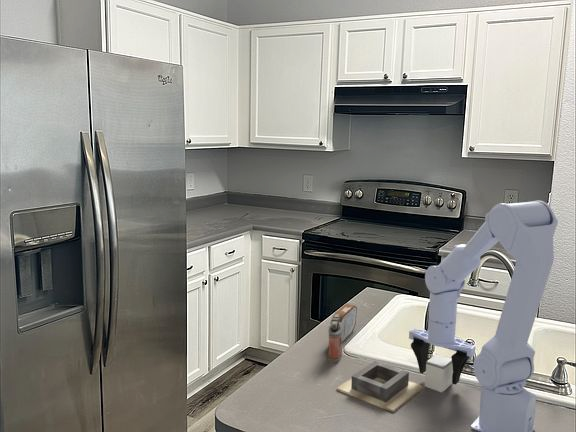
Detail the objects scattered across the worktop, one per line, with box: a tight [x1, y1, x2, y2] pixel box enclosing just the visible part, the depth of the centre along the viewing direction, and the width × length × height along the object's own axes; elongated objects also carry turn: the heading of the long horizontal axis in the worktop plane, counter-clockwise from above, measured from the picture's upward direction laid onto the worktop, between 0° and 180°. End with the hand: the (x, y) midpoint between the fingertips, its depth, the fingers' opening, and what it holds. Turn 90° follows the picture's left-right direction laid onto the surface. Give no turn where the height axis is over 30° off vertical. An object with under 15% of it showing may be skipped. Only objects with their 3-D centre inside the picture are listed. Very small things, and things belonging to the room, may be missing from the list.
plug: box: [424, 353, 453, 393], centre depth 119 cm, size 4×5×6 cm
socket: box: [336, 360, 424, 414], centre depth 117 cm, size 14×13×4 cm
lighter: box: [327, 313, 343, 364], centre depth 133 cm, size 8×3×10 cm, turn 168°
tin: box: [329, 302, 358, 343], centre depth 144 cm, size 15×3×8 cm, turn 153°
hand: (439, 377), depth 119 cm, fingers open, 7 cm apart
